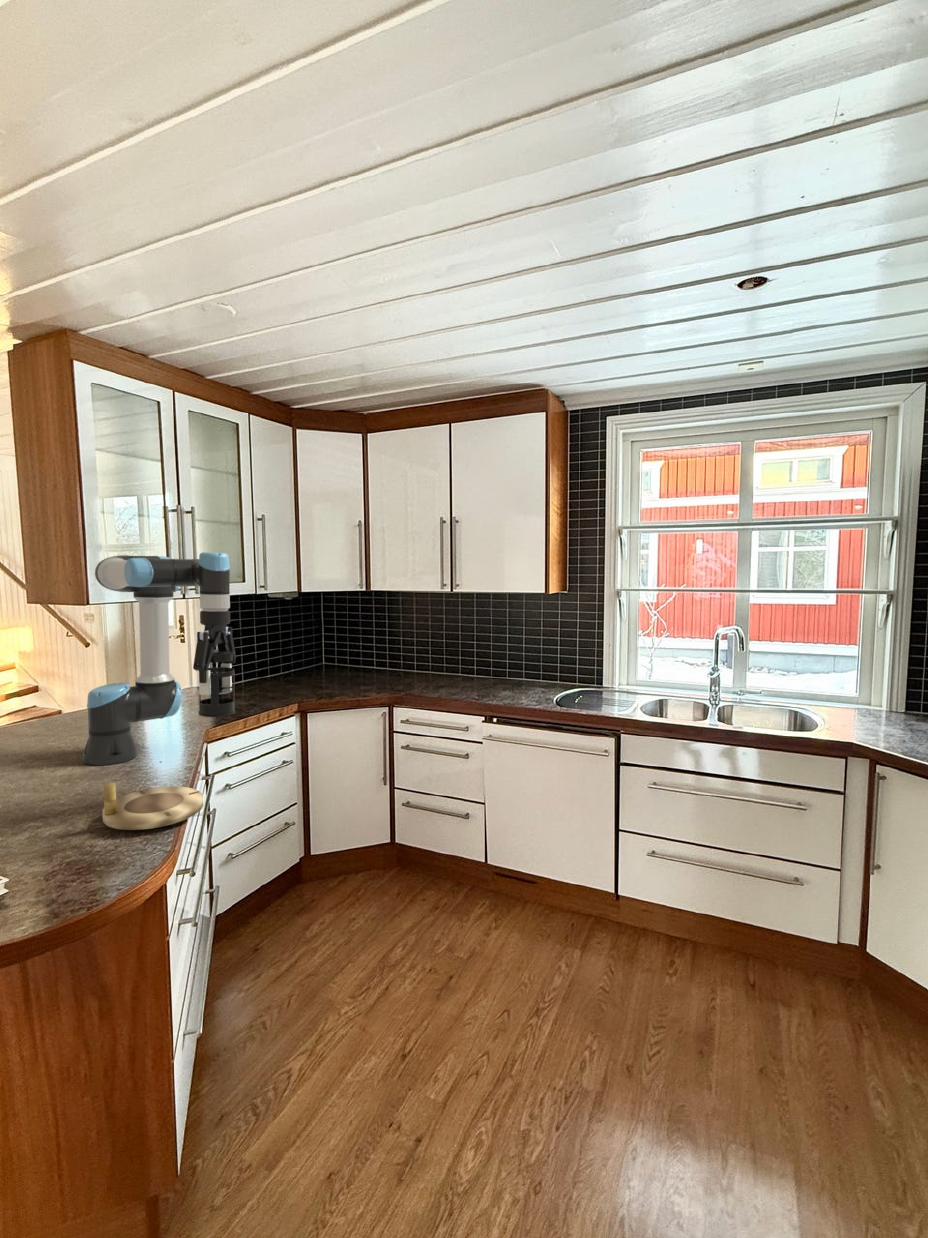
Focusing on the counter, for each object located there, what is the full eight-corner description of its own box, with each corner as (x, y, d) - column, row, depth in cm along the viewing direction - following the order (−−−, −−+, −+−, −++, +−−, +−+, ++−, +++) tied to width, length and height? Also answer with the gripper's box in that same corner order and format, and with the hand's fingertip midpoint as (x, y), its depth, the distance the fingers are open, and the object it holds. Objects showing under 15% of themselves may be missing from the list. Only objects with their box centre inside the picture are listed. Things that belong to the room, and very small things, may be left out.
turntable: (184, 787, 163) (183, 755, 162) (217, 811, 147) (216, 776, 147) (92, 809, 148) (90, 774, 147) (117, 838, 132) (116, 799, 131)
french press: (201, 708, 169) (200, 627, 167) (236, 707, 171) (236, 628, 169) (195, 719, 158) (194, 632, 156) (233, 718, 160) (233, 632, 158)
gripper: (224, 606, 173) (225, 681, 175) (176, 612, 151) (178, 698, 153) (248, 607, 173) (249, 683, 175) (204, 613, 150) (205, 700, 152)
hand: (216, 690), depth 164 cm, fingers closed on french press, 10 cm apart
